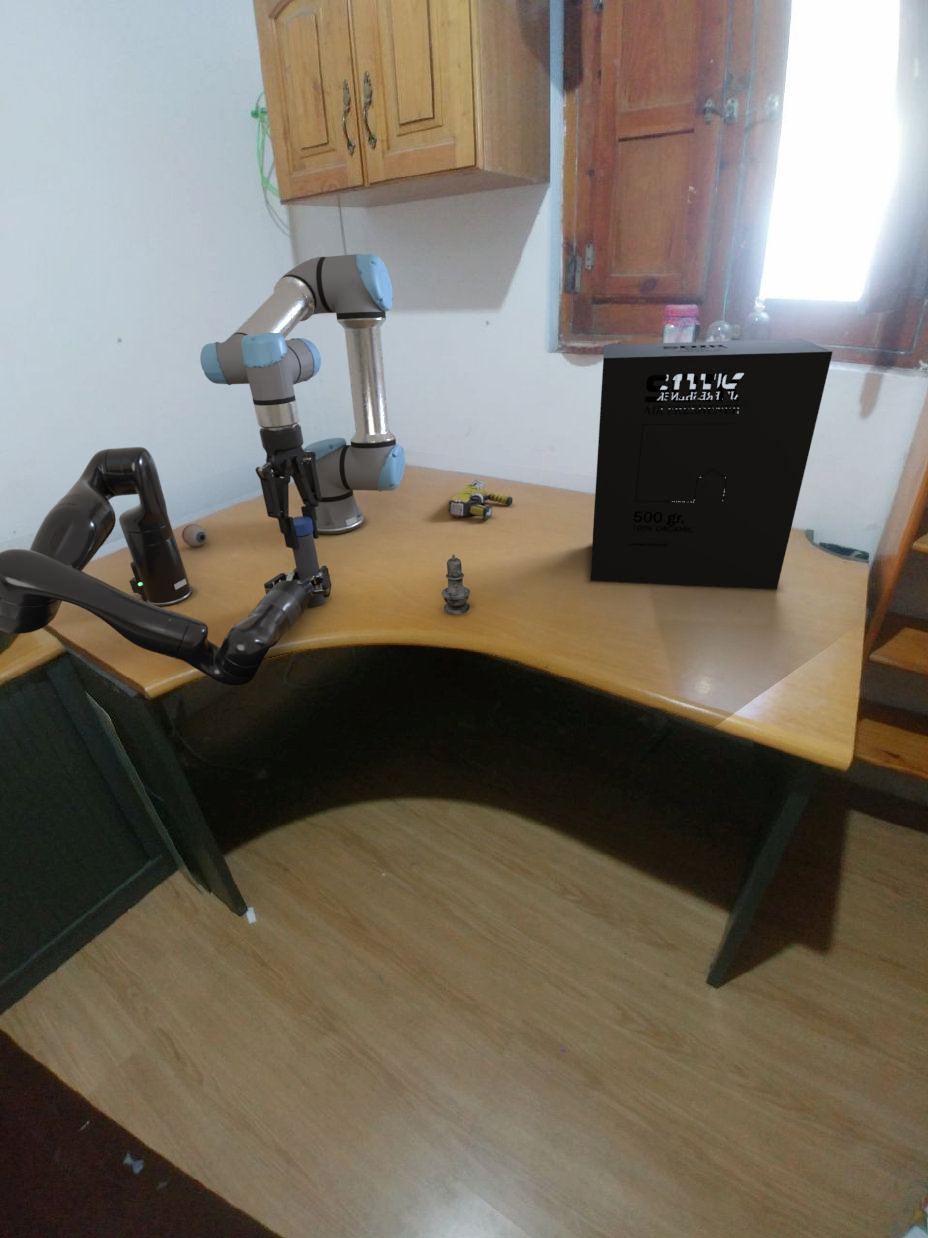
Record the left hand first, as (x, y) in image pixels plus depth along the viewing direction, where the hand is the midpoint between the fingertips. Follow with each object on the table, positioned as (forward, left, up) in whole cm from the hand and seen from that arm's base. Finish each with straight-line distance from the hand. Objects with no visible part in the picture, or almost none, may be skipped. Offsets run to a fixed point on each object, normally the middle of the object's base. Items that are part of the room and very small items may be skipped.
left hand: (314, 569), depth 129 cm
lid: (0, -3, +12) cm, 12 cm away
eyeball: (-44, +26, -6) cm, 51 cm away
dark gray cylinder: (0, -3, -6) cm, 7 cm away
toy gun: (+29, +57, -6) cm, 65 cm away
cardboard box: (+78, +19, -6) cm, 81 cm away
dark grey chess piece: (+31, -4, -6) cm, 32 cm away
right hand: (0, -3, +8) cm, 8 cm away
